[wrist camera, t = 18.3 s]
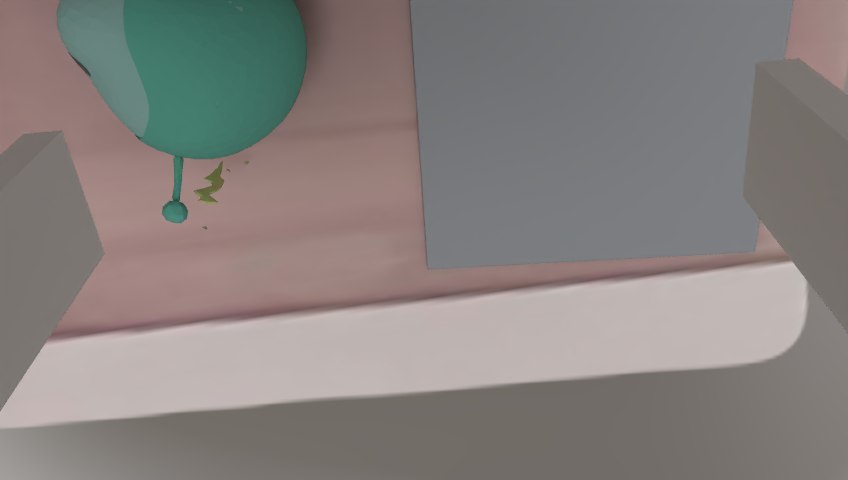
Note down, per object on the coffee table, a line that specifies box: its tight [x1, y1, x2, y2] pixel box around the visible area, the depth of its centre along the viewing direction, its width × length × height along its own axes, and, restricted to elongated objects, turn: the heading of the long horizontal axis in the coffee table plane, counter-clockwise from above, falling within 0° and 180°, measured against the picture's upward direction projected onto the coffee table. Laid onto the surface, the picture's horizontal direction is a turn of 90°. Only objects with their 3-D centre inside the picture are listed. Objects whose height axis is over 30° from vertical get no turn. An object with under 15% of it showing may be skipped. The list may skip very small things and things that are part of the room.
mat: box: [410, 0, 793, 269], centre depth 41 cm, size 18×18×1 cm
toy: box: [57, 0, 307, 229], centre depth 35 cm, size 10×10×15 cm
